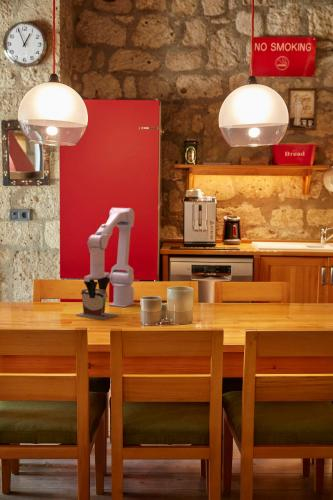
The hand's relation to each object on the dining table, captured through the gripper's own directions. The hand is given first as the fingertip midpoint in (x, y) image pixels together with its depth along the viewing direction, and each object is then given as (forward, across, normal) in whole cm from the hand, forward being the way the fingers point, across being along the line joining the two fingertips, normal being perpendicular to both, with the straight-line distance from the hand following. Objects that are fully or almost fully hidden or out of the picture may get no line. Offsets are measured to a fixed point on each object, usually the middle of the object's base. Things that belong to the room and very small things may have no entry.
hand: (97, 296), depth 228 cm
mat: (+8, 0, 0) cm, 8 cm away
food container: (+8, 0, 0) cm, 8 cm away
